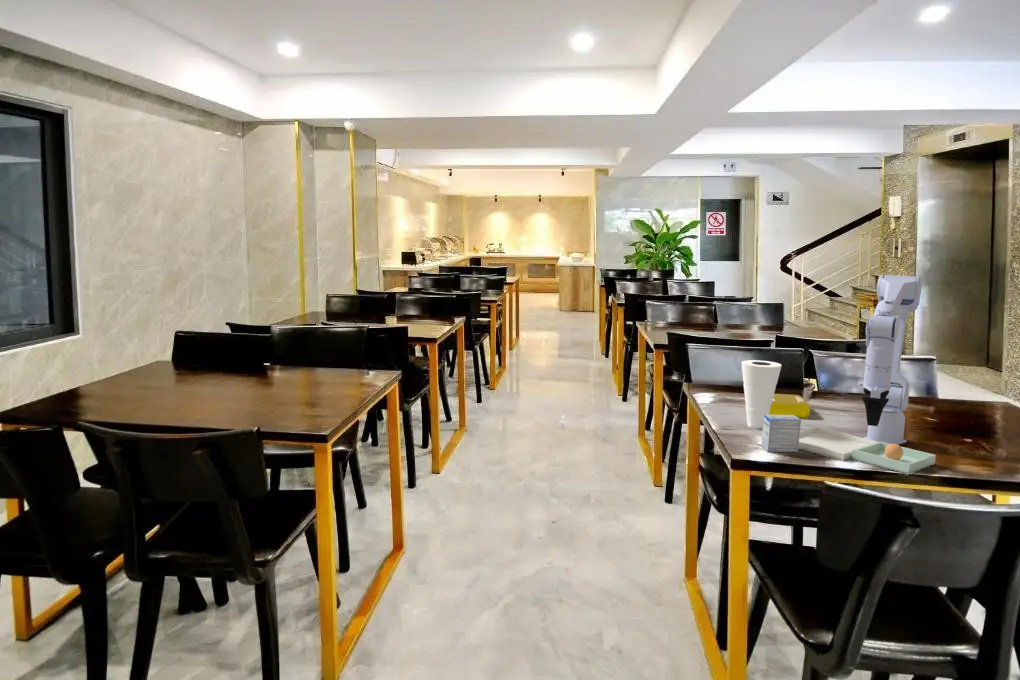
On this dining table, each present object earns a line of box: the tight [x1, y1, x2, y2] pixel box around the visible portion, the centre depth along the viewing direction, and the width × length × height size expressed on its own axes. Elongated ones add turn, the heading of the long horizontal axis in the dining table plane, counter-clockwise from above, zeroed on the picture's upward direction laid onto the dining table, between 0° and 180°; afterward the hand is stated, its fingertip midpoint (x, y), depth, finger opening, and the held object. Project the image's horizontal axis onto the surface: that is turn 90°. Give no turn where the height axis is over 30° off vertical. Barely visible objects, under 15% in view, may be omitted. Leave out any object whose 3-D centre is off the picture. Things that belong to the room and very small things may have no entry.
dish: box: [851, 442, 937, 476], centre depth 178 cm, size 13×13×2 cm
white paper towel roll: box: [740, 359, 782, 429], centre depth 207 cm, size 11×11×18 cm
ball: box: [885, 444, 903, 460], centre depth 178 cm, size 4×4×4 cm
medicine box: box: [761, 415, 802, 453], centre depth 186 cm, size 8×4×9 cm, turn 92°
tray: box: [798, 426, 877, 462], centre depth 191 cm, size 18×18×2 cm
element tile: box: [769, 393, 811, 419], centre depth 227 cm, size 15×15×5 cm
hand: (872, 421), depth 177 cm, fingers open, 7 cm apart
